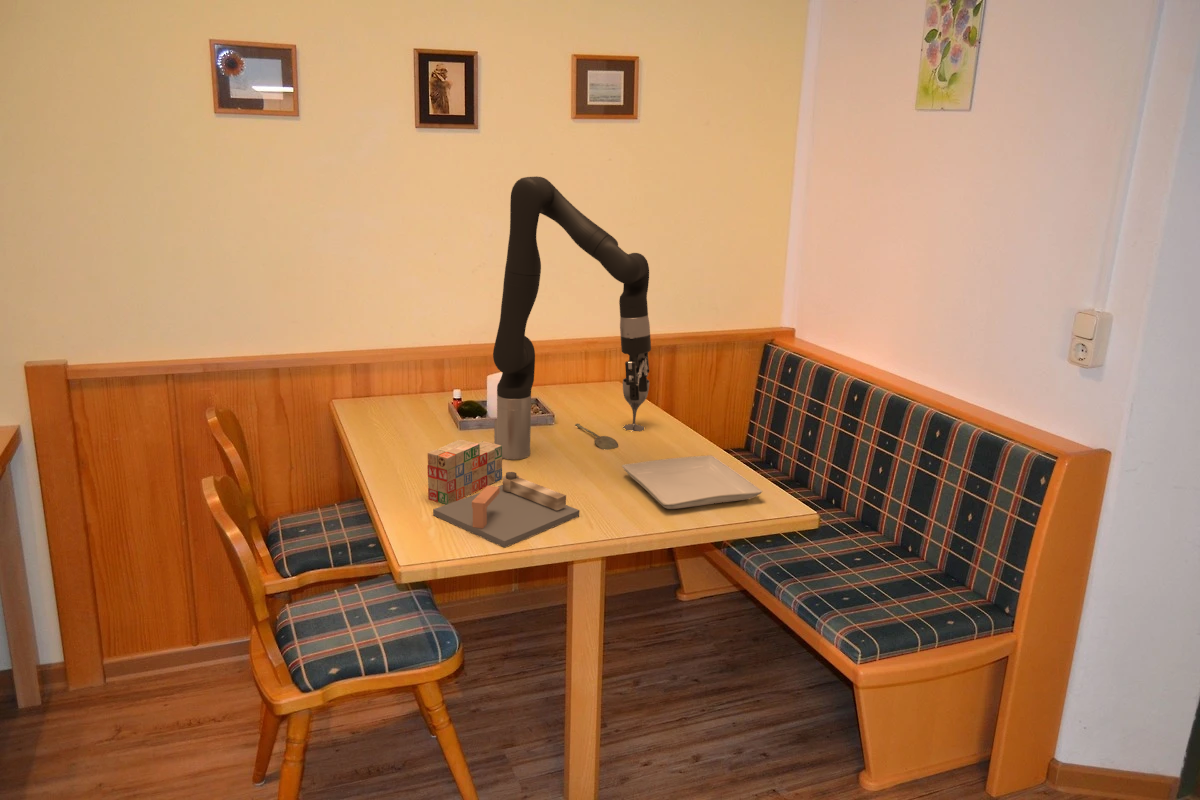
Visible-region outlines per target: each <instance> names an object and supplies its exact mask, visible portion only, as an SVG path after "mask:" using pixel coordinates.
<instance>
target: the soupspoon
mask: <svg viewBox="0 0 1200 800" xmlns="http://www.w3.org/2000/svg"><path fill="white" fill-rule="evenodd" d="M575 426H577V427H578V428H577V429H581V430H584V431H586V432H588V433H590V434H591V435H593V436H594V437H595V439H594V443H595V445H596V446H598V448H599V449H601V450H604V449H605V450H607V451H608V450H615V449H619V442H618V441H617V440H616V439H615V438H613V437H611V436H606V435H602V436H600V435H599V434H597V433H596V432H594V431H592V430H590V429H588V428H586V427H584V426H583V425H580V423H575V424H574V427H575ZM605 450H604V451H605Z"/></svg>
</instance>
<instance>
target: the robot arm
mask: <svg viewBox="0 0 1200 800" xmlns="http://www.w3.org/2000/svg"><path fill="white" fill-rule="evenodd" d="M509 205H510V209H509V210H510V211H509V212H510V213H509V214H510V216H509V220H510V221H509V234H508V235H509V237H508V245H507V254H506V260H505V261H506V262H505V267H504V269H505V270H504V278H503V287H502V296H501V297H502V299H501V303H500V304H501V306H500V316H499V317H500V318H499V324H498V329H497V333H496V337H495V341H494V342H495V343H494V346H493V353H492V359H493V363H494V365H495V367H496V368H497V370H498V371H499V372H501V377H500V380H499V381H498V383H497V387H496V407H497V408H496V419H494V423H493V424H494V430H493V431H494V435H493V437H494V438H493V439H494V442H493V443H494V444H497V445H501V446H502V459H505V460H522V459H526V458H528V457H529V456H530V455H531V425H532V420H531V418H532V416H531V415H532V388H533V385H534V381H535V369H536V368H535V367H536V366H535V365H536V352H535V347H534V344H533V342H532V341H531V339H530V338H529V337H527V336H526V329H527V328H526V327H527V324H528V323H527V322H528V319H529V317H530V314H531V312H532V310H533V307H534V305H535V302H536V299H537V297H538V292H539V289H540V281H541V272H542V263H541V257H540V252H539V248H538V241H537V232H538V230H537V229H538V223H539V218H540V215H543V216H545V217H547V218H548V219H551V220H553V222H555V223H556V224H558V225H559V226H560V227H561V228H562V229H564V231H565V232H566V233H567V234H568V235H569V237H570V238H571V240H572V241H573V242H574V243H575V244H576V245H577V246H578V247H579V248H580V249H581V250H582V251H584V252H586V253H587V254H588V255H589V256H591V257H592V258H593V259H595V260H596V261H597V262H598V263H600V264H601V266H602V267H603V268H604V269H605V270H606V271H607V272H608V274H609V275H610V276H611V277H613V278H614V279H615V280H617V281H618V282H620V283H621V284H623V290H622V293H621V294H620V296H619V300H618V301H619V302H618V303H619V317H620V318H619V319H620V320H619V331H620V346H621V347H620V348H621V352H622V353H623V355H624V354H625V355H628V360H627V361H625V363H624V364H625V378H626V385H629V386H630V399H631V400H639V398H640V397H639V391H640V392H646V391H647V390H648V388H647V379H648V376H649V373H650V363H649V353H650V352H651V351H652V345H651V344H652V343H651V324H650V320H649V312H648V311H649V310H648V309H649V308H648V291H649V283H650V282H649V281H650V267H649V263H648V260H647V258H646V257H645V255H643V254H642V253H640V252H631V253H627V252H626V251H624V250H623V249H622V248H621V247H620V246H619V242H618V241H617V239H616V238H615V237H614V236H613V235H611V234H610V233H609V232H608V231H606V230H604V229H603V227H601V226H599V225H598V224H596V223H595V222H594V221H592V220H591V219H590V218H588V217H587V216H586V215H585V214H583V213H582V212H581V211H580V210H579V209H578V208H576V206H574V205H573V204H572V203H571V202H570V201H569V200H568V199H567V197H565V196H564V195H563V194H562V193H561V192H560V191H559V189H558V188H556V186H554V184H552V183H551V181H549V180H548V179H547V178H545V177H543V176H538V175H537V176H525V177H521V178H520V179H518V180H516V182H515V183H514V184H513V186H512V188H511V192H510V203H509ZM632 378H634V380H632Z"/></svg>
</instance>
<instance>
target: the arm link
mask: <svg viewBox="0 0 1200 800" xmlns="http://www.w3.org/2000/svg"><path fill="white" fill-rule="evenodd" d="M502 485H503V490H504V491H506V492H511V493H514V494H516V495H519V496H521V497H524V498H526V499H529V500H531V501H534V502H536V503H539V504H541V505H544V506H546V507H549V508H551V509H554V510H560V509H562V508H565V507H566V505H567V495H566V494H563V493H561V492H558V491H557V490H556V491H555V490H553V489H550V488H548V487H545V486H543V485H540V484H538V483H535V482H533V481H529V480H527V479H524V478H521V477H520V476H519V475H517V472H514V471H507V472H506V473H505V475H504V476H503V475H502Z"/></svg>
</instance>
